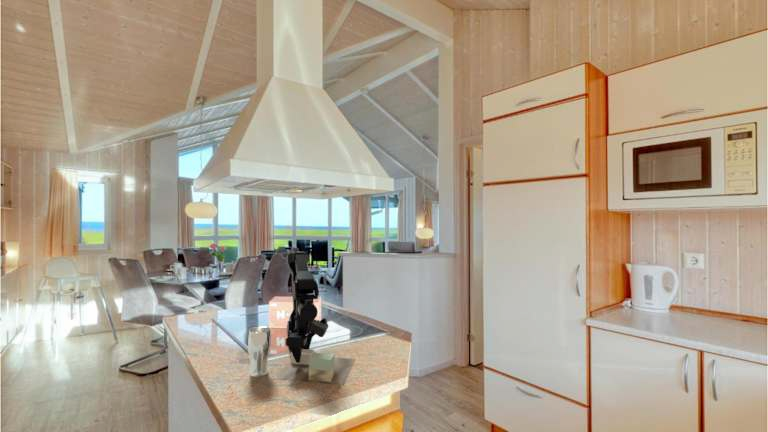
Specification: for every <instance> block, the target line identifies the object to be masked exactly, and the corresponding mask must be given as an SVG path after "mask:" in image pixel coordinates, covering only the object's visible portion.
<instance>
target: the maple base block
mask: <svg viewBox="0 0 768 432" xmlns="http://www.w3.org/2000/svg"><path fill="white" fill-rule="evenodd" d="M333 376H334V366H333V368H332V370H331V371H324V370H312V369H309V380H313V381H325V382H331V380H332V378H333Z"/></svg>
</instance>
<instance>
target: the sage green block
mask: <svg viewBox="0 0 768 432" xmlns="http://www.w3.org/2000/svg"><path fill="white" fill-rule="evenodd" d="M334 358H336V357H335V354H334V353H325V352H314V353H313V354H312V355H311V357H310V358H309V369H312V370H324V371H331V370H332V368H333V366H334Z"/></svg>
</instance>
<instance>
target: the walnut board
mask: <svg viewBox="0 0 768 432" xmlns="http://www.w3.org/2000/svg"><path fill="white" fill-rule="evenodd" d="M355 362H356V359H355V358H343V357H334V376H333V378H332V380H331V382H325V381H313V380H309V365H306V364H293V363H290V362H288V364H287V365H286V366H285V367H284V368H283V369H282V370H281V371H280V373H279V374H278V375H277V376H276V377H275V378H274V380H277V381H278V380H279V381H289V382H299V383H300V382H302V383H315V384H327V385H335V386H336V385H338V386H339V385H340V386H344V385H345V383H346V381H347V378H348V376H349V375H350V373H351V370H352V369H353V368H352V367H353V365H354V363H355Z"/></svg>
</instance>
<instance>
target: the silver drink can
mask: <svg viewBox="0 0 768 432" xmlns="http://www.w3.org/2000/svg"><path fill="white" fill-rule="evenodd" d="M271 336H272V335H271V328H270V327H269V326H256V327H255V326H254V327H251V328H249V329H248V339H247V341H248V342H247V351H248V357H249V369H248V370H249V371H248V375H249V377H252V378H256V377H257V378H258V377H263V376H265V375H267V374H268V372H269V371H268V360H269V354H270V349H271V345H272V344H271V341H272V338H271Z"/></svg>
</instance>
